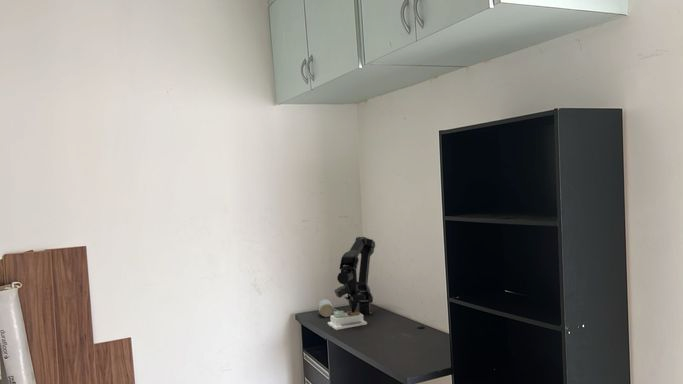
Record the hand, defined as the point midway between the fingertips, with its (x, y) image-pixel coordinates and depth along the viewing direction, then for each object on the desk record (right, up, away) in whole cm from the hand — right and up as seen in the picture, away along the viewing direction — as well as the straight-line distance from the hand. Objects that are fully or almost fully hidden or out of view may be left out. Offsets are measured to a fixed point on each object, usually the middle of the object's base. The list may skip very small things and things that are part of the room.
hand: (353, 311), depth 266 cm
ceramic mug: (-12, -6, +17) cm, 21 cm away
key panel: (-3, -5, -3) cm, 7 cm away
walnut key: (0, -3, 0) cm, 3 cm away
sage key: (-6, -3, -2) cm, 7 cm away
